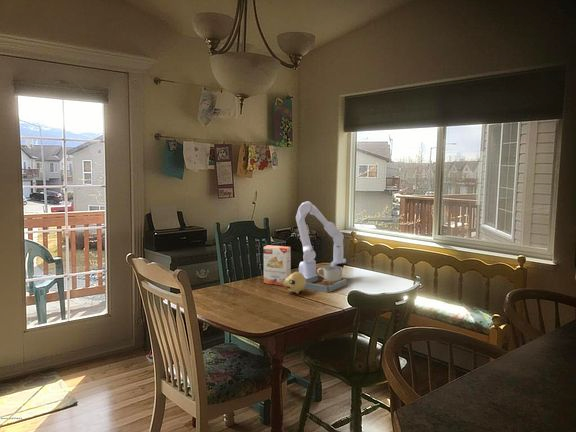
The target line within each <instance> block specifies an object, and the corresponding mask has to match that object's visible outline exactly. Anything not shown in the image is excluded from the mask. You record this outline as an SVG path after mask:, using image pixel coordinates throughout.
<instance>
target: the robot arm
mask: <svg viewBox="0 0 576 432" xmlns="http://www.w3.org/2000/svg"><path fill="white" fill-rule="evenodd" d="M308 214H309V215H311V216H314V217H316V219H317V220H318V221H320V223H321V224H322V225H323V229H324V230H325V232H326V233H327V234H328V235H329V236H330V237H331V238H332V241H333V246H332V247H333V250H332V251H333V260H332V261H331V262H330V266H333V267H334V266H340V267H342V268H343V269H344V267H345V264H346V263H347V258H344V238H345V237H344V234H343V232H341V230H340V229H338V228H337V226H335V224H336V223H334V222H332V221H328V220H327V218H325V217H326V216H324V215H323V213H322V212H321V211H320V210H319V209H318V207H316V205H315V204H313V203H312V202H311V201H308V200H306V201H304V202H302V203H301V204H300V205H299V206H298V209H297V211H296V215H295V221H296V225H297V228H298V229H297V230H298V232H299V237H300V242H301V245H302V252H303V256H302V258H303V261H300V262H299V265H298V272H300V273H301V274H303V276H304V277H305V279H306V278H309V277H312V276H315V275H317V271H316V270H317V269H316V267H317V265H316V264H317V262H316V259H315V258H317V257H316V256H317V254H316V251H315V250H314V248H313V245H312V244H311V243H312V242H311V240H310V235H309V231H308V227H307V224H306V220H305V218H306V216H307V215H308ZM319 277H320V275H318V278H319Z"/></svg>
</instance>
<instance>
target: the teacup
mask: <svg viewBox="0 0 576 432" xmlns="http://www.w3.org/2000/svg"><path fill="white" fill-rule="evenodd" d="M343 269H344V267H343V268H342V267H340V266H334V267H333V266H330V265H325V266H323V267H319V268H318V269H316V270H317V271H316V273H317V275H318V276H319V277H322V279H323V280H325V279H330V280H333V284H334V283H337V282H339V281H342V278H343ZM320 271H322V274H321V273H320Z"/></svg>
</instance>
